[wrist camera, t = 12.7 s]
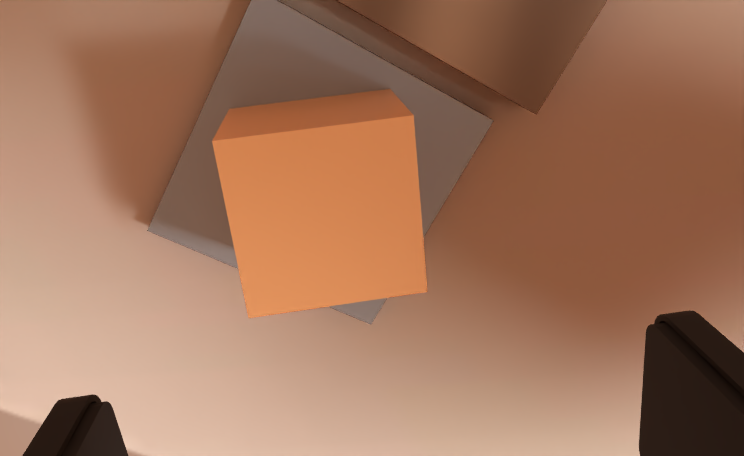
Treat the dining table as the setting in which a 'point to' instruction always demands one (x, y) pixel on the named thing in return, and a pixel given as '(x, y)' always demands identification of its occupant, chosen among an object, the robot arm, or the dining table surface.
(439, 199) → the rubber pad
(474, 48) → the post stand
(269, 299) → the orange bevelled cube
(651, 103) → the dining table surface
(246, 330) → the dining table surface
